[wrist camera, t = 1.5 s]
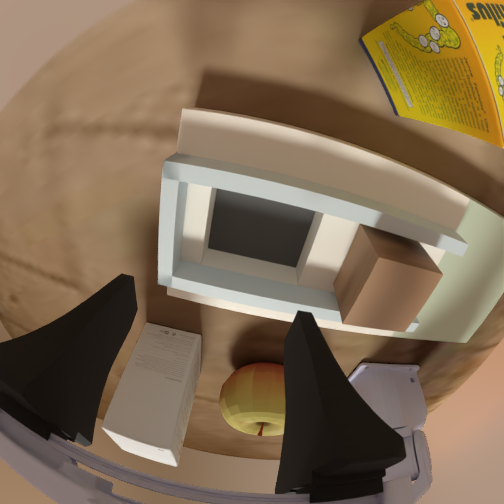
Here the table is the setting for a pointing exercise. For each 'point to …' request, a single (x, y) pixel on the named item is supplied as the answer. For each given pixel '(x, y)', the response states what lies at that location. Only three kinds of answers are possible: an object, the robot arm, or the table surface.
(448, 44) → the supplement box
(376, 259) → the block
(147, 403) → the small box
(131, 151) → the table surface
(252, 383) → the apple
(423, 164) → the table surface
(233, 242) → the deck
